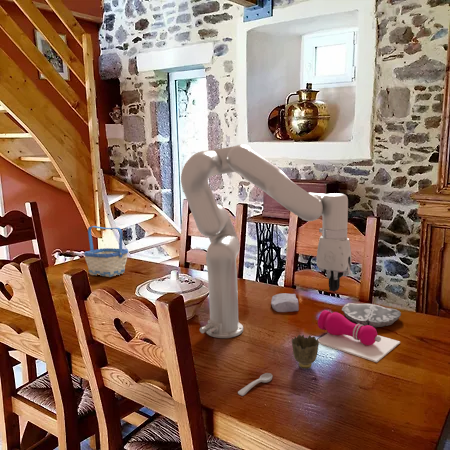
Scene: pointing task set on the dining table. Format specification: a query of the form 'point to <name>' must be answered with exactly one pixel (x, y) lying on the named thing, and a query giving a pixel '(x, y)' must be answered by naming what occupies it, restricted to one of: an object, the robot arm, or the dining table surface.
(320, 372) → the dining table surface
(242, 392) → the spoon
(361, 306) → the brain slice
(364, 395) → the dining table surface
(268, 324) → the dining table surface
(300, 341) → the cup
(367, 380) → the dining table surface
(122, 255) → the basket
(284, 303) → the stone block
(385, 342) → the white mat
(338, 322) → the pepper mill
